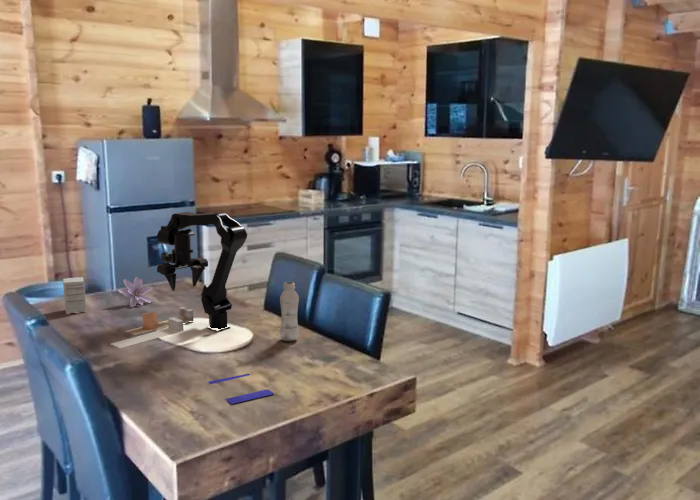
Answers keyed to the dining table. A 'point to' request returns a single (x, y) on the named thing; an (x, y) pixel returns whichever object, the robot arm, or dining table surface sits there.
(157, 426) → the dining table surface
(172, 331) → the grey strip
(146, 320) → the rounded peach dome
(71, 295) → the miniature chest of drawers
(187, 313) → the birch strip
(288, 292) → the plastic bottle
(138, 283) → the water lily
